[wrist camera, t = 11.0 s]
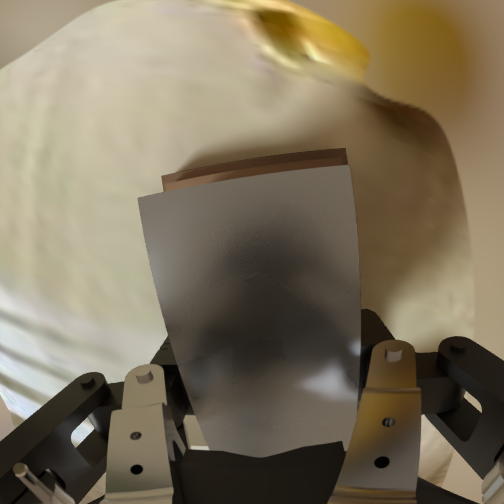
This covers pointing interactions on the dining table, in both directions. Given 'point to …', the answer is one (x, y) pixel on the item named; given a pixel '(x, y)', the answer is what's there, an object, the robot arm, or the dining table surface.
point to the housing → (262, 305)
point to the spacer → (195, 433)
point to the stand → (255, 167)
